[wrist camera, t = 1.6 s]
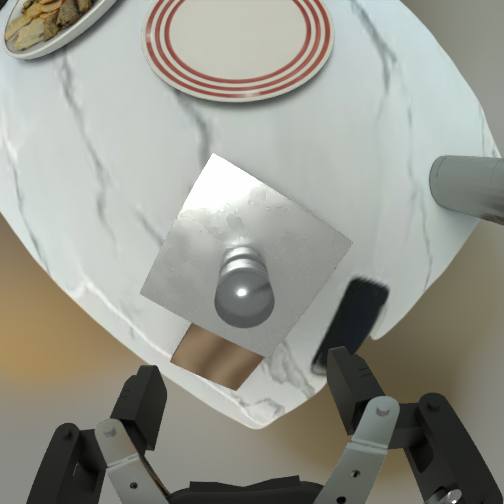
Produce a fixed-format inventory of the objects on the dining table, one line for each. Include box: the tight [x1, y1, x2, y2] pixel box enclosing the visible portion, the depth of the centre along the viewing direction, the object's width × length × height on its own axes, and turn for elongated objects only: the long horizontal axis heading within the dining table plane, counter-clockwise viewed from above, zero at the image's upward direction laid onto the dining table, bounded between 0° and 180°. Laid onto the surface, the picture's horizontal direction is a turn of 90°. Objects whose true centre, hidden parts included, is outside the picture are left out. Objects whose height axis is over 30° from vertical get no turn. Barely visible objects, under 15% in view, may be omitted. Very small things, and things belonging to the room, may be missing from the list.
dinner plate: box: [141, 0, 334, 102], centre depth 29 cm, size 27×27×3 cm
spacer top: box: [214, 259, 275, 328], centre depth 25 cm, size 5×5×4 cm
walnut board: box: [170, 323, 264, 391], centre depth 44 cm, size 13×13×2 cm
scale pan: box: [140, 154, 353, 358], centre depth 32 cm, size 18×18×3 cm
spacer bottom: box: [219, 247, 268, 274], centre depth 28 cm, size 5×5×4 cm
